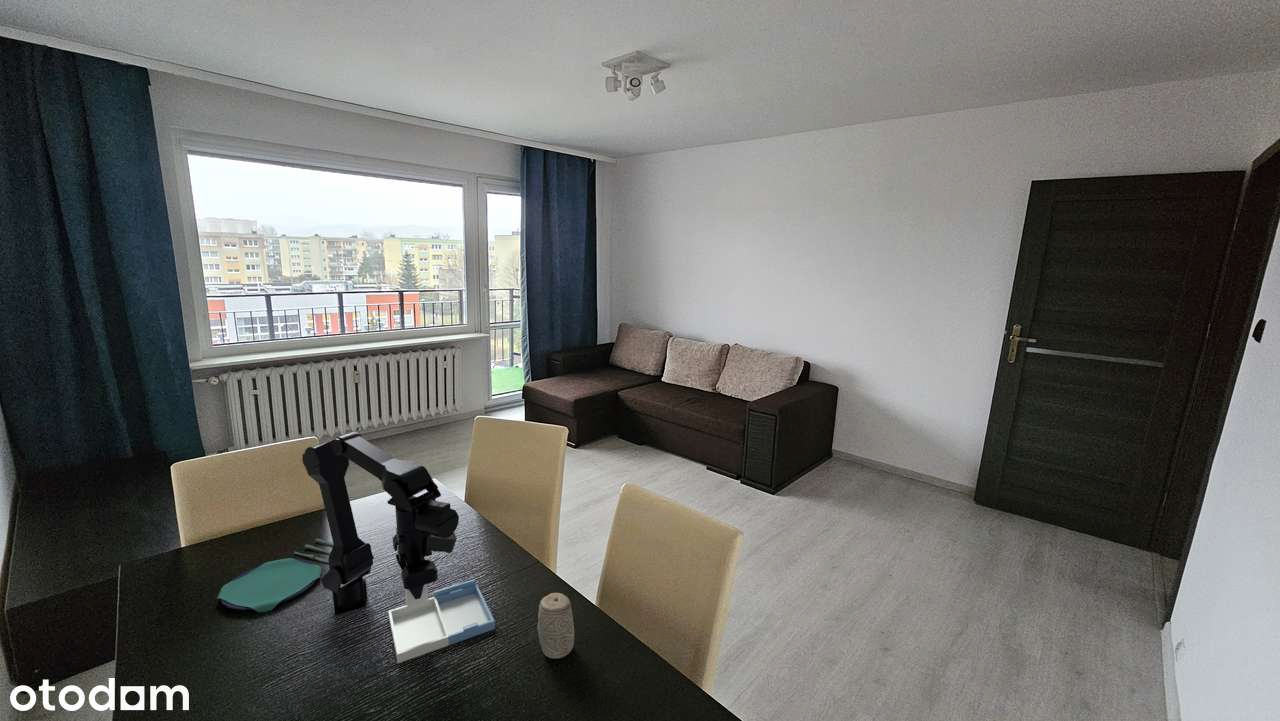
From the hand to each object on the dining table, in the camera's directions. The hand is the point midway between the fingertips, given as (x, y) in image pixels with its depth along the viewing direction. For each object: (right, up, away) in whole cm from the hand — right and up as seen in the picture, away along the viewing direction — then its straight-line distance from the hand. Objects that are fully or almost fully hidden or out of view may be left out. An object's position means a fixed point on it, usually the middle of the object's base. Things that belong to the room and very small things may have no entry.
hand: (416, 592), depth 109 cm
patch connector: (0, -2, 0) cm, 2 cm away
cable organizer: (+4, -9, +4) cm, 11 cm away
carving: (+30, -11, -2) cm, 33 cm away
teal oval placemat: (-41, -6, +21) cm, 46 cm away
